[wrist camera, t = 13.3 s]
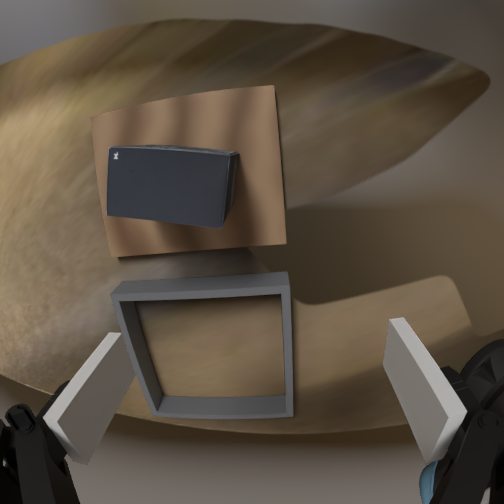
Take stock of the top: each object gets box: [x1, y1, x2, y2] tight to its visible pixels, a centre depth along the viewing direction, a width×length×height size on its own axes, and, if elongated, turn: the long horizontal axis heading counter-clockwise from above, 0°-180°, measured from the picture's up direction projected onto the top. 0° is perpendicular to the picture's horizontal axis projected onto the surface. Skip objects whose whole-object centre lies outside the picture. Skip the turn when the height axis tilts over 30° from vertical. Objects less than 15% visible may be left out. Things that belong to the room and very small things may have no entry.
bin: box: [110, 272, 293, 419], centre depth 41 cm, size 22×22×4 cm
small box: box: [106, 144, 240, 229], centre depth 29 cm, size 11×6×10 cm, turn 83°
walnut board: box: [91, 85, 286, 257], centre depth 34 cm, size 22×18×2 cm
